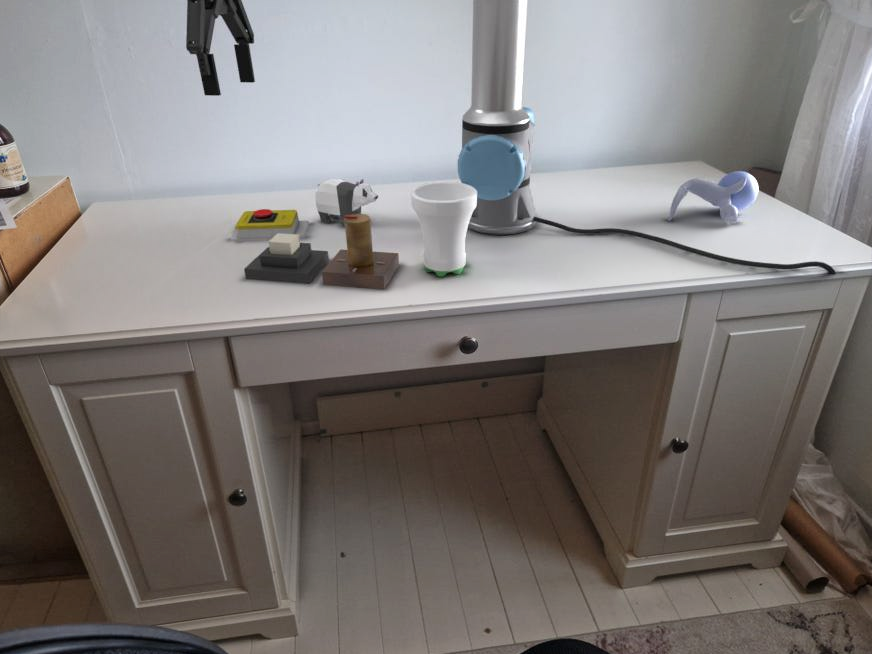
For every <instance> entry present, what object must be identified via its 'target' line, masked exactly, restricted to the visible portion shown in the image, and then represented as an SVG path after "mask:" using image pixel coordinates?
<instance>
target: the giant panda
mask: <svg viewBox="0 0 872 654" xmlns="http://www.w3.org/2000/svg"><path fill="white" fill-rule="evenodd" d="M378 198H379V195H378V194H376V192H374V191H373V189H372V187H371V185H370V184H369V183H367V182H364V179H363V178H362V179H360V181H356V183H352V182H349V181H346V180H343V179H339V178H331V179H326V180H324V181H323V182H321V183H318V185H317V186H316V191H315V206H316V210H317V214H318V215H319V219H320V222H321V223H324V224H331V223H333V219H337V220H338V219H341V221H342V226H343V227H345V222H344V218H345V217H344V216H345V215H352V214H362V207H365V206H368V205H369V204H371V203H375V202H377V201H376V200H378Z"/></svg>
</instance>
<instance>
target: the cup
mask: <svg viewBox="0 0 872 654" xmlns="http://www.w3.org/2000/svg"><path fill="white" fill-rule="evenodd" d="M410 199H411V207H412V209H413V211H414V212H415V214H416V216H417V219H418V221H419V225H420V228H421V232H422V237H423V246H424V247H423V249H424V251H423V254H422V259H423V260H422V261H423V262H422V263H423V268H424V270H425V272H426V273H432V272H434V273H435V275H436V276H438V277H439V278H440V277H441V278H442V277H445V276H446V275H447V274H448V273H452V274H454V275H461V273H462V271H463V269H464V267H465V266H466V265H467V253H466V250H465V249H466V247H465V246H466V245H465V244H466V236H467V231H468V229H469V228H468V224H469V221H470V218H471V215H472V213H473V211H474V209H475V208H476V205H477V191H476V189H475V188H474V187H472V186H470V185H467V184H464V183H462V182H458V181H457V182H455V181H433V182H427V183H424V184H420V185H418V186H415V187H414V188H413V189H412V190H411V192H410Z"/></svg>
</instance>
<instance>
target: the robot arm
mask: <svg viewBox="0 0 872 654" xmlns="http://www.w3.org/2000/svg"><path fill="white" fill-rule="evenodd" d="M186 1H187V6H186V37H185V39H186V40H185V42H186V43H185V48H186V51H187V52H188V53H189V55H195V56H196V59H197V65H198V69H199V74H200V78H201V79H200V80H201V84H202V89H203V93H204V96H211V97H212V96H214V97H215V96H222V93H221V89H220V81H219V76H218V73H217V72H218V71H217V67H216V66H217V65H216V62H215V56H214V53H211V47H212V41H213V35H214V30H215V25H216V19H218V18H219V16H220V17H221V19H222V20H223V22H224V23H225V26H226V27H227V28H228V31H229V33H230V34H231V36H232V37H233V39H234V42H235V43H236V44H233V47H234V54H235V59H236V65H237V70H238V77H239V83H249V84H250V83H255V82H256V78H255V73H254V67H253V60H252V54H251V47H250V44H251V45H252V44H254V43H255V34H254V33H255V32H254V30H253V28H252V25H251V22H250V19H249V17H248V15H247V14H248V13H247V12H246V8H245V6H244V4H243V0H186ZM528 1H529V0H472V36H471V37H472V43H471V44H472V45H471V51H472V52H471V97H470V98H471V99H470V100H471V103H470V107H469V108H468V109H467V110H466V112H464V114H463V115H462V118H461V119H462V122H461V123H462V124H461V150H460V151H459V154H458V158H457V174H458V178H459V181H460V183H464V184H467V185H470V186H472V187H474V188H475V189H476V191H477V205H476V208H475V209H474V211H473V213H472V215H471V218H470V221H469V224H468V228H467V229H469V230H472V231H474V232H478V233H481V234H486V235H496V236H502V235H503V236H504V235H505V236H506V235H507V236H508V235H516V234H521V233H524V232H527V231H530V230H531V229H533V228H534V227H535V226H536V224H537V223H540V224H544V225H547V226H550V227H554V228H557V229H560V230H562V231H565V232H570V233H572V234H573V233H574V234H583V235H594V234H621V235H627V236H632V237H633V236H634V237H638V238H641V239H645V240H648V241H652V242H657V243H659V244H663V245H665V246H666V245H667V246H668V247H669V246H670V247H672V248H676V249H678V250H681V251H685V252H688V253H691V254H695V255H698V256H702V257H705V258H709V259H712V260H716V261H720V262H724V263H728V264H734V265H739V266H746V267H754V268H763V269H775V270H797V269H804V268H813V267H817V268H822V269H823V270H825V271H827V273H828V274H832V275H836V274H837V272H836V270H835V268H834V267H832V266H831V265H830V264H828V263H826V262H824V261H823V262H822V261H816V260H815V261H814V260H813V261H804V262H798V263H773V262H761V261H753V260H745V259H740V258H735V257H728V256H724V255H720V254H717V253H712V252H709V251H705V250H701V249H698V248H695V247H691V246H689V245H688V246H687V245H685V244H682V243H679V242H677V241H672V240H669V239H668V238H667V239H666V238H664V237H663V238H662V237H659V236H655V235H653V234H647V233H644V232H639V231H635V230H631V229H624V228H613V227H605V228H604V227H603V228H591V229H590V228H575V227H570V226H567V225H564V224H563V223H562V224H561V223H559V222H555V221H553V220H548V219H545V218H542V217H537V210H536V207H535V202H534V198H533V194H532V190H531V186H530V185H531V172H532V171H531V170H532V169H531V168H532V156H533V137H534V127H535V126H536V125H535V113H534V111H533V109H532V108H530V107H525V106H523V105H522V104H523V85H524V68H525V52H526V34H527V21H528V20H527V16H528Z"/></svg>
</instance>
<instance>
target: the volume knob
mask: <svg viewBox="0 0 872 654" xmlns="http://www.w3.org/2000/svg"><path fill="white" fill-rule="evenodd" d="M344 217H345V218H344V222H345V226H344V231H345V241H346V250H347V253H348V263H349V264H350V265H351V266H355V267H364V266H368V265H371V264H372V263H373V261H374V260H373V252H374V248H373V247H374V246H373V236H372V235H373V234H372V223H371V222H372V221H371V216H370V215H368V214H367V213H361V214H352V215H345V216H344Z"/></svg>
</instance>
